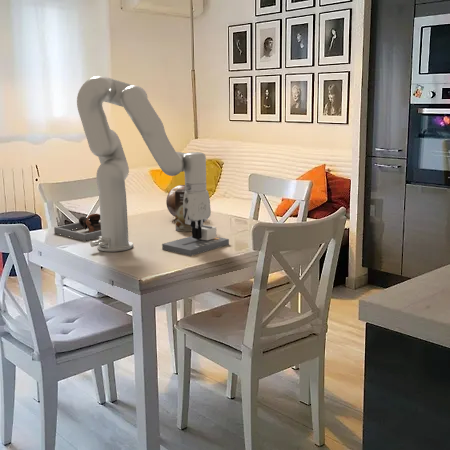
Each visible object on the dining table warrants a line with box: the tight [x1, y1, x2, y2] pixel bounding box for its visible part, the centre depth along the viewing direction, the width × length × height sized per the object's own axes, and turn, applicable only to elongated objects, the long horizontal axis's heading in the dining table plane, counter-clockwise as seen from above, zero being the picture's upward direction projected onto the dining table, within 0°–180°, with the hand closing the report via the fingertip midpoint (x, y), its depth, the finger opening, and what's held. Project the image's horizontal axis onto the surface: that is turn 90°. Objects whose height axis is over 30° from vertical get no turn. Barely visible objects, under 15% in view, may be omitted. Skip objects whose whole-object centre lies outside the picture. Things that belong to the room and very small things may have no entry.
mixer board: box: [161, 235, 230, 257], centre depth 213 cm, size 20×14×2 cm
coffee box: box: [175, 189, 192, 232], centre depth 239 cm, size 9×6×16 cm
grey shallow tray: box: [53, 221, 101, 242], centre depth 237 cm, size 18×20×2 cm
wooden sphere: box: [165, 184, 185, 217], centre depth 260 cm, size 15×15×15 cm
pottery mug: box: [78, 213, 101, 233], centre depth 239 cm, size 12×10×8 cm
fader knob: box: [201, 224, 217, 240], centre depth 216 cm, size 5×6×5 cm
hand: (196, 238), depth 213 cm, fingers closed
